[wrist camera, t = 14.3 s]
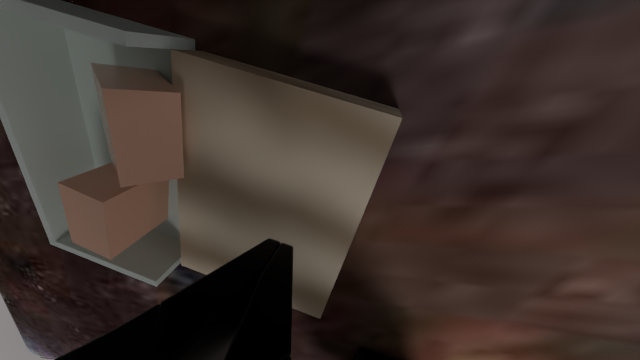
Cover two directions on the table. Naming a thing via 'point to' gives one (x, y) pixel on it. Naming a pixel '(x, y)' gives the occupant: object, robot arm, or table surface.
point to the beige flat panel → (274, 168)
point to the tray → (77, 112)
